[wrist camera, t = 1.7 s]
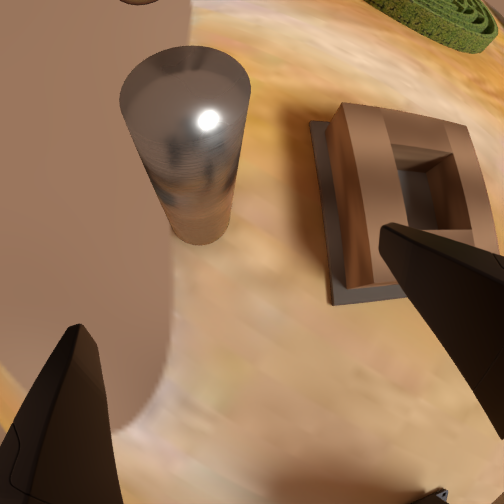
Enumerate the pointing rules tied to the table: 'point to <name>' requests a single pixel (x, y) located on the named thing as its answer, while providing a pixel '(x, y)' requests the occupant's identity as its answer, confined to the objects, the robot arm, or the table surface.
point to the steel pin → (189, 134)
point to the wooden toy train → (138, 2)
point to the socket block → (393, 192)
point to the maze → (445, 21)
